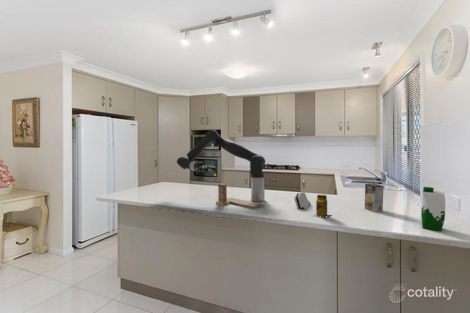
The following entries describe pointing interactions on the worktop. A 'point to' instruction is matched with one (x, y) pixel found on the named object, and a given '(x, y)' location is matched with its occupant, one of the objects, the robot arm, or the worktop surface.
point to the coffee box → (374, 197)
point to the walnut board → (244, 203)
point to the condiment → (321, 205)
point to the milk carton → (433, 209)
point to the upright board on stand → (222, 195)
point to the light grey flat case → (301, 200)
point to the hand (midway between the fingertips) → (212, 170)
